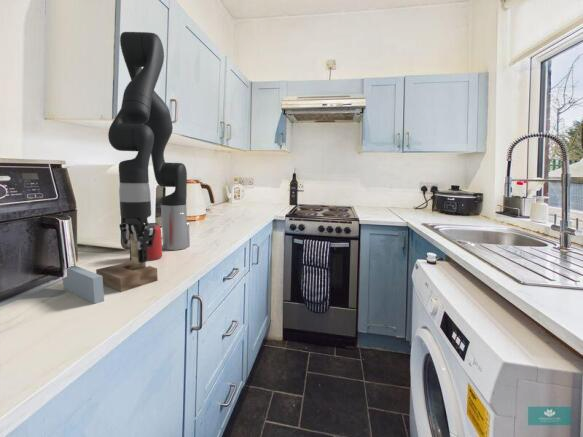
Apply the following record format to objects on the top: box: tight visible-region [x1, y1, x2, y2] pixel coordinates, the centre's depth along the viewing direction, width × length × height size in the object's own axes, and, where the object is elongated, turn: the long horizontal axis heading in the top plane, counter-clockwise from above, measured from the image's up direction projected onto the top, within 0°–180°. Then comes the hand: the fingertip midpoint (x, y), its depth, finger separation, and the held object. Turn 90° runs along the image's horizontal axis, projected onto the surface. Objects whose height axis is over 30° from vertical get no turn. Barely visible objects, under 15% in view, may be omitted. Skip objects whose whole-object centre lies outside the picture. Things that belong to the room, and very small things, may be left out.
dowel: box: [130, 234, 147, 271], centre depth 84 cm, size 4×4×12 cm
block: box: [95, 260, 158, 293], centre depth 82 cm, size 10×12×4 cm
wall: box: [62, 264, 105, 305], centre depth 72 cm, size 2×16×6 cm, turn 58°
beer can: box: [147, 222, 163, 261], centre depth 103 cm, size 7×7×12 cm
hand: (138, 260), depth 84 cm, fingers closed on dowel, 3 cm apart
